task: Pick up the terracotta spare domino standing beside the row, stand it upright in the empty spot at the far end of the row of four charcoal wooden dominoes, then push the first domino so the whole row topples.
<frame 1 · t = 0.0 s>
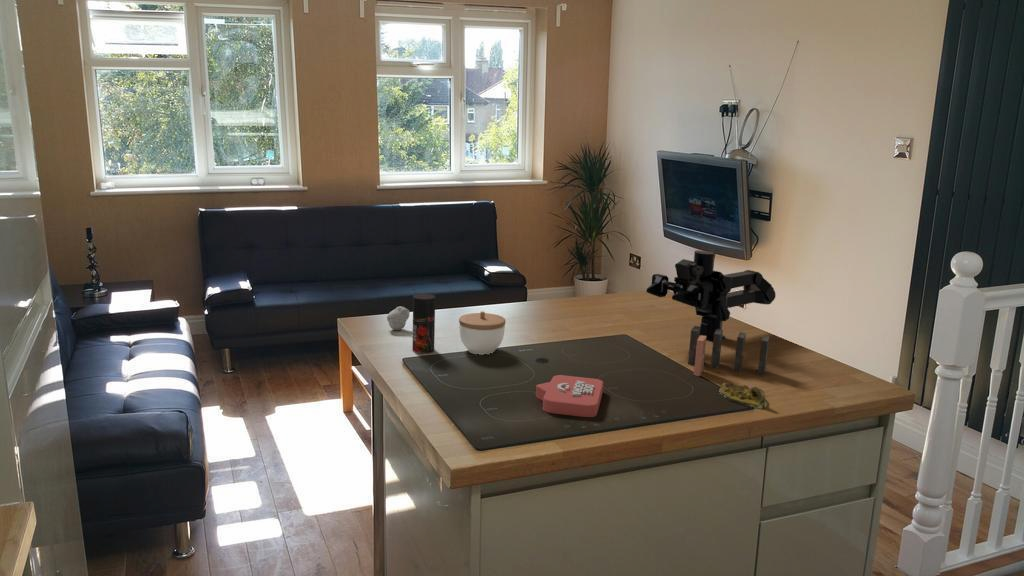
hand: (659, 293, 217), 17 cm above the worktop, tool horizontal, fingers open, 9 cm apart
grey lumpy stone: (398, 330, 231), on the worktop
lidded bowl: (481, 351, 214), on the worktop
domino 1: (761, 372, 206), on the worktop
domino 3: (714, 365, 210), on the worktop
domino 2: (737, 369, 208), on the worktop
deodorant: (423, 350, 213), on the worktop
spare domino: (698, 373, 204), on the worktop
plaque: (567, 402, 181), on the worktop
domino 4: (692, 361, 212), on the worktop
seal: (742, 399, 188), on the worktop
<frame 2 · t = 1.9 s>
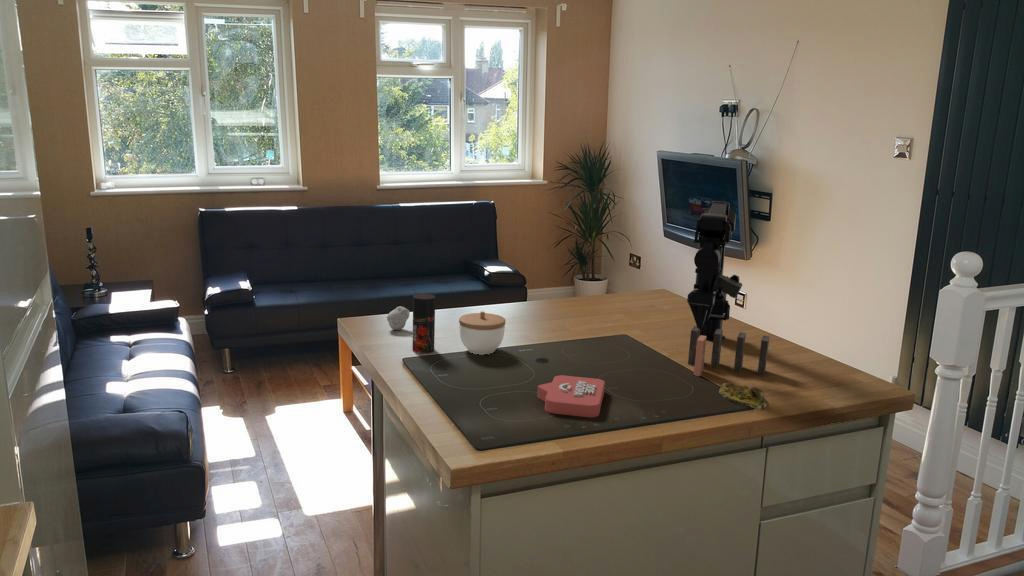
hand: (702, 324, 201), 13 cm above the worktop, tool pointing down, fingers open, 9 cm apart
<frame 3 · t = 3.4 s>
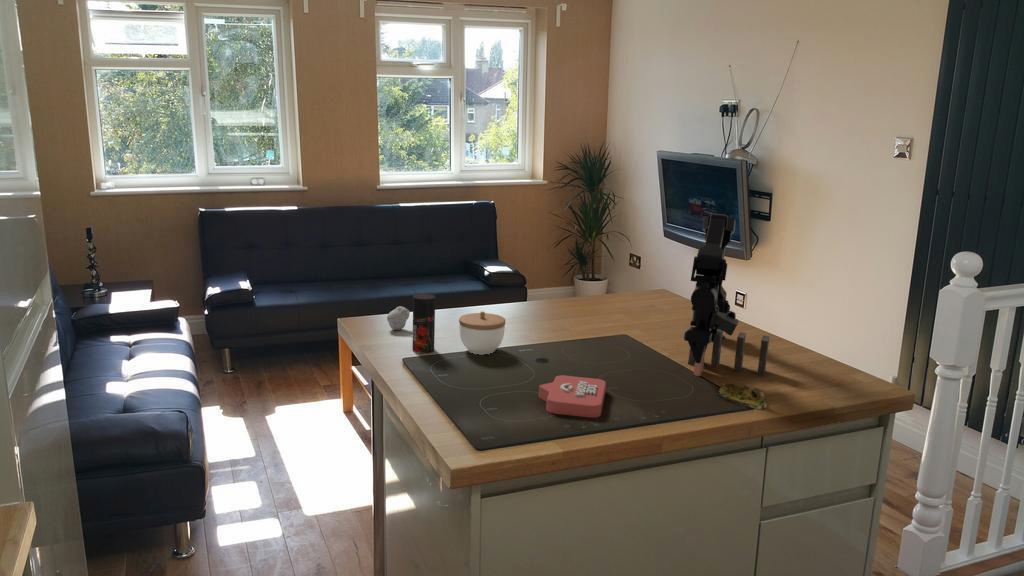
hand: (699, 360, 203), 4 cm above the worktop, tool pointing down, fingers closed on spare domino, 5 cm apart
spare domino: (698, 373, 204), on the worktop, touching gripper
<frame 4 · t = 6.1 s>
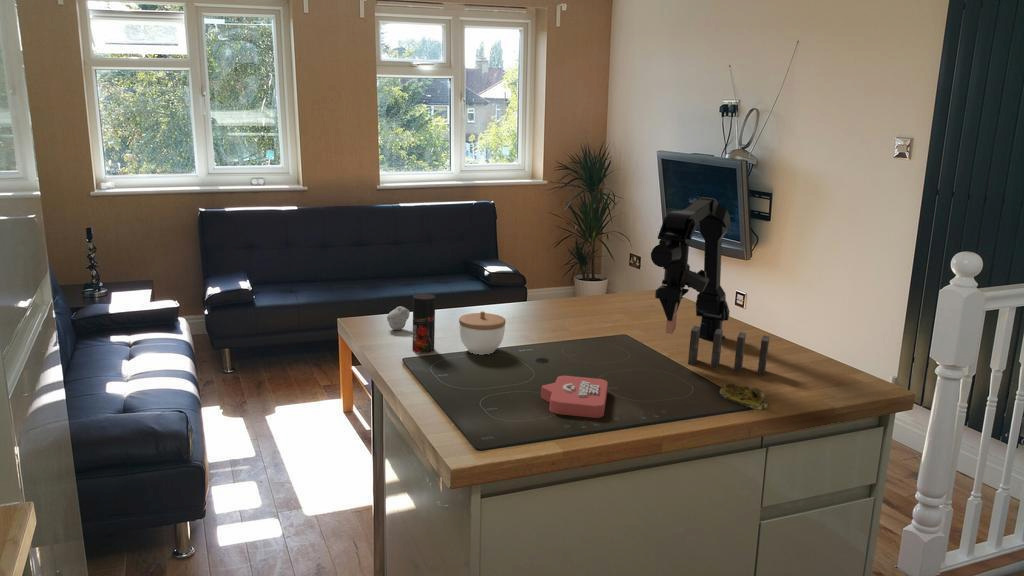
hand: (671, 318, 208), 12 cm above the worktop, tool pointing down, fingers closed on spare domino, 5 cm apart
spare domino: (670, 330, 209), point 9 cm above the worktop, touching gripper
when the fingers open (4 cm above the worktop, at t = 8.9 s): spare domino stays where it is, on the worktop.
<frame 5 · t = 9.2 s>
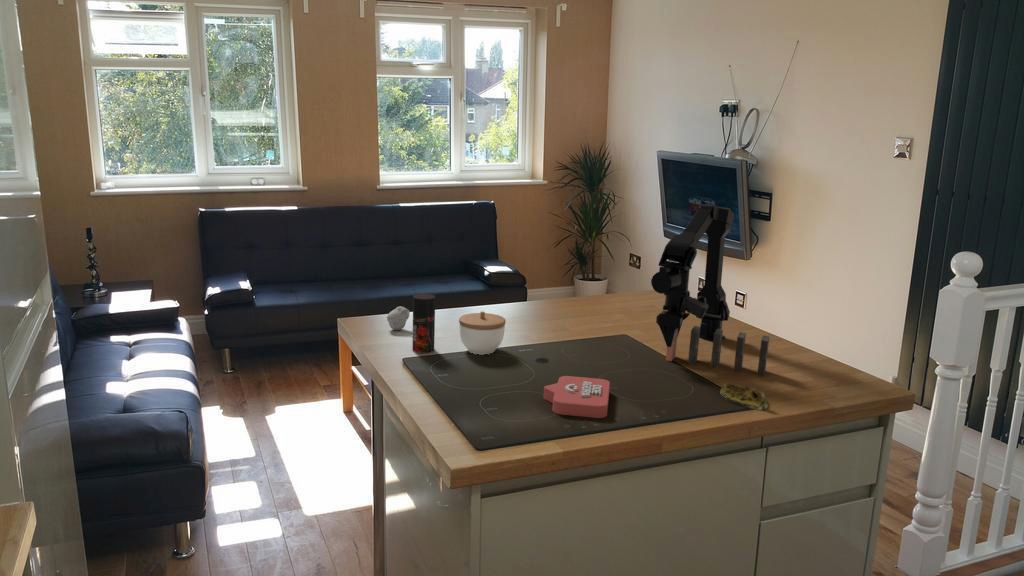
hand: (672, 342, 213), 4 cm above the worktop, tool pointing down, fingers open, 8 cm apart
spare domino: (670, 358, 215), on the worktop
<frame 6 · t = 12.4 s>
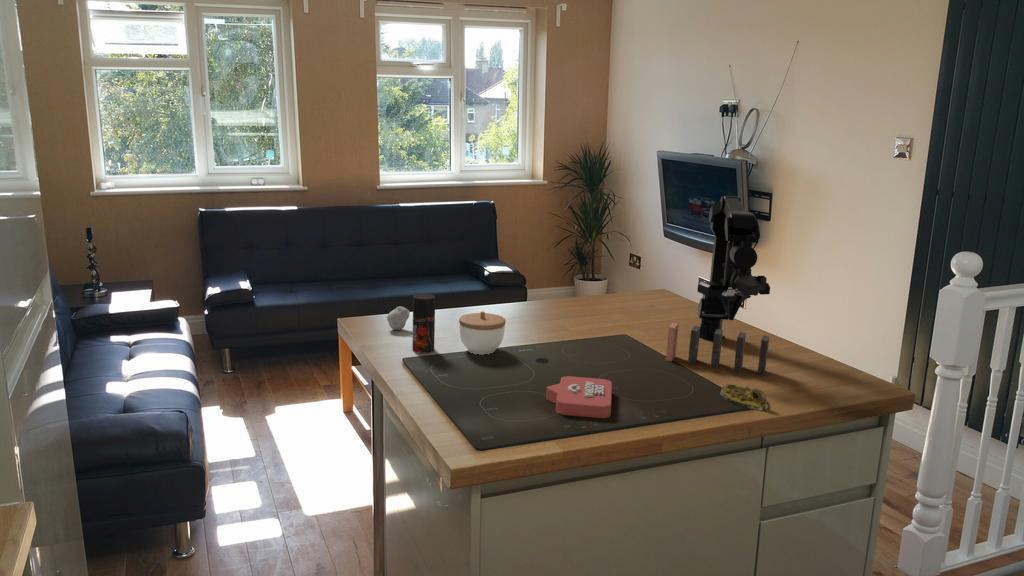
hand: (730, 319, 206), 13 cm above the worktop, tool pointing down, fingers closed
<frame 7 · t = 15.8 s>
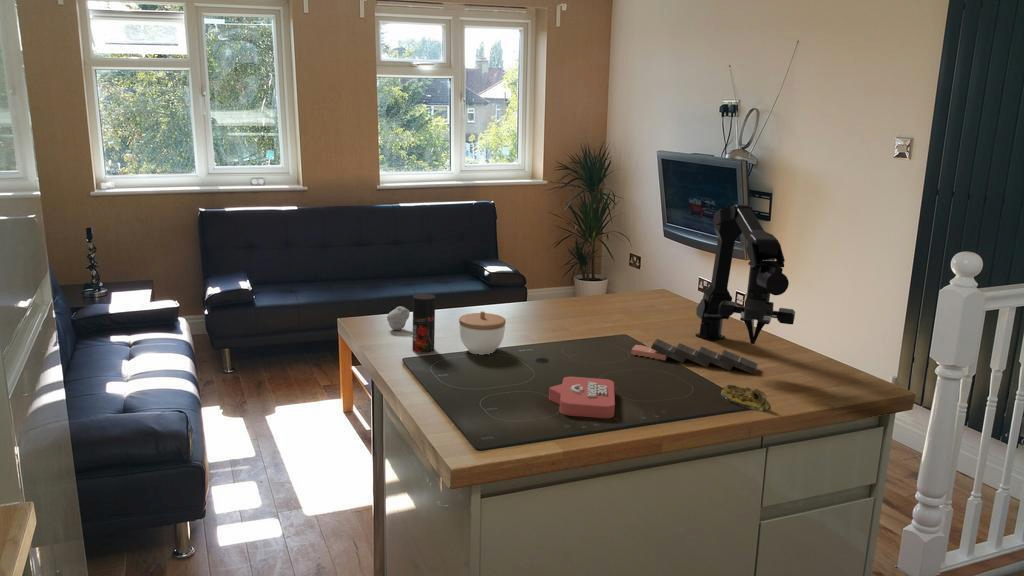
hand: (752, 343, 205), 7 cm above the worktop, tool pointing down, fingers closed
domino 1: (756, 369, 206), point 1 cm above the worktop, tilted 75°, touching domino 2
domino 3: (709, 362, 210), point 1 cm above the worktop, tilted 74°, touching domino 2
domino 2: (732, 365, 208), point 1 cm above the worktop, tilted 75°, touching domino 1, domino 3
spare domino: (667, 355, 215), point 1 cm above the worktop, tilted 89°, touching domino 4
domino 4: (686, 358, 213), point 1 cm above the worktop, tilted 73°, touching spare domino
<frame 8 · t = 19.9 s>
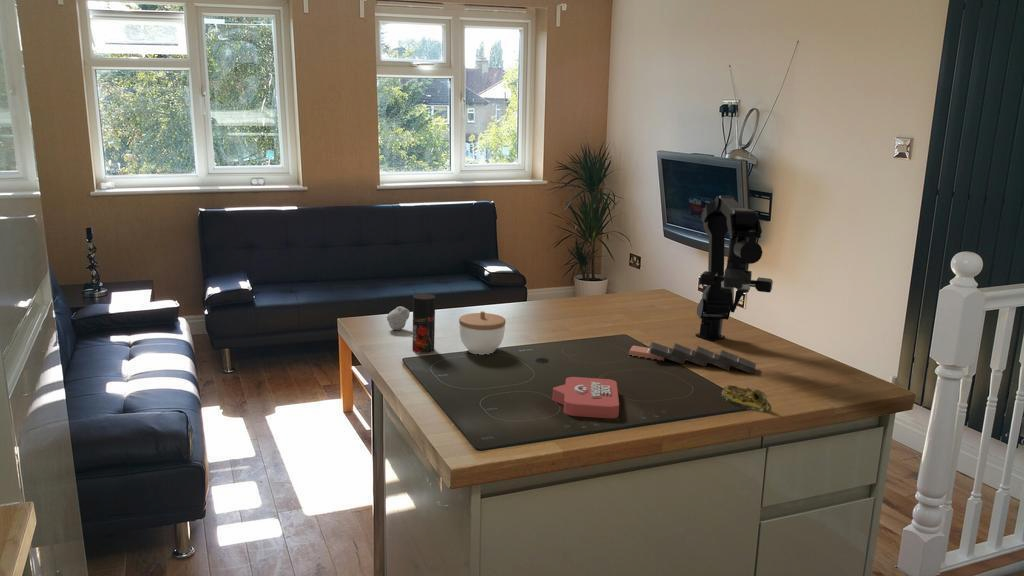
hand: (732, 312, 215), 13 cm above the worktop, tool pointing down, fingers closed
domino 3: (706, 361, 210), point 1 cm above the worktop, tilted 74°, touching domino 4
domino 2: (729, 365, 209), point 1 cm above the worktop, tilted 74°, touching domino 1
domino 4: (684, 358, 212), point 1 cm above the worktop, tilted 76°, touching domino 3, spare domino
at the end: spare domino tilted 89°; domino 4 tilted 76°; spare domino inside the target area (0.8 cm from its centre), point 0.6 cm above the worktop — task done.
